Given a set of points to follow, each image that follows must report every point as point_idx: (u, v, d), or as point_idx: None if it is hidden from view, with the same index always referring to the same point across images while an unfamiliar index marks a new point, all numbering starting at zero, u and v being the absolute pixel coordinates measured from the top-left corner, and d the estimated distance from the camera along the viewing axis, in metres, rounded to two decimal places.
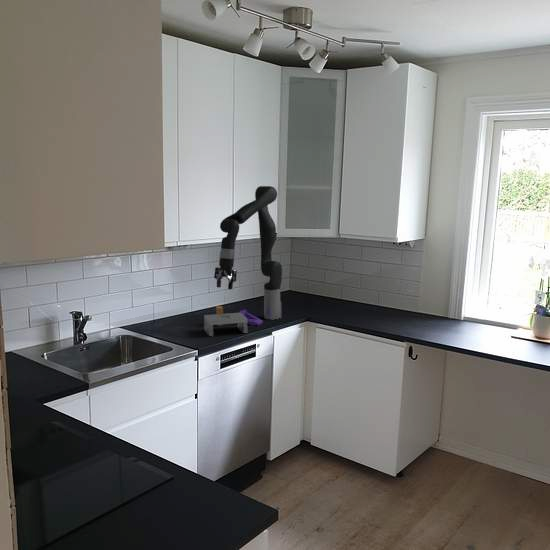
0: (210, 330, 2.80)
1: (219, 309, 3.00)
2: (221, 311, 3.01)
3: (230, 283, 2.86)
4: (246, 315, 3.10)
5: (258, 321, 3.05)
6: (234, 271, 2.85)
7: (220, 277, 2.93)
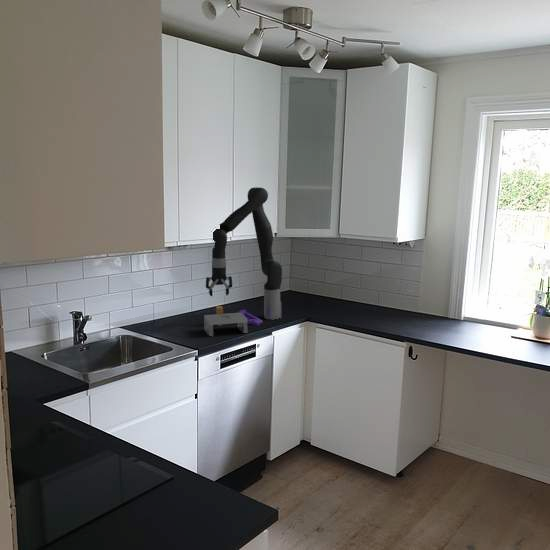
0: (210, 330, 2.80)
1: (219, 309, 3.00)
2: (221, 311, 3.01)
3: (228, 289, 3.02)
4: (246, 315, 3.10)
5: (258, 321, 3.06)
6: None
7: None
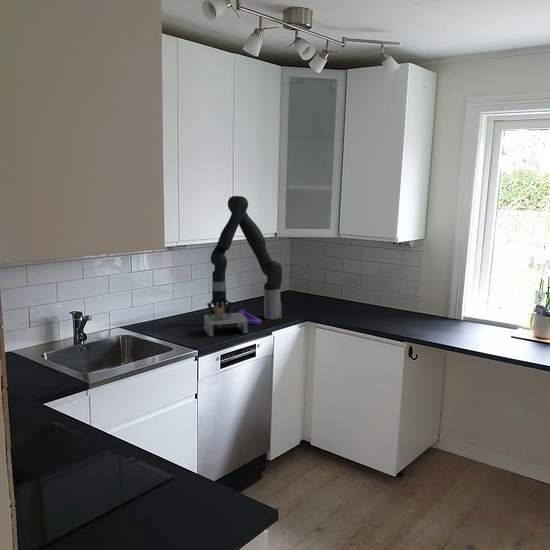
0: (210, 330, 2.80)
1: (219, 309, 3.00)
2: (221, 311, 3.01)
3: None
4: (245, 315, 3.10)
5: (257, 320, 3.06)
6: None
7: None
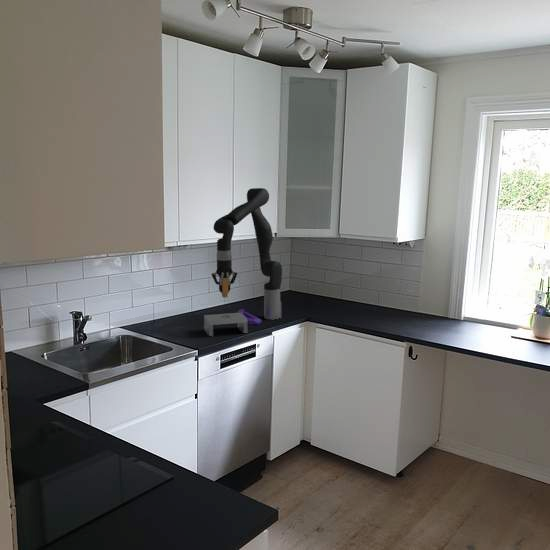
0: (210, 330, 2.80)
1: (224, 280, 2.84)
2: (226, 282, 2.84)
3: (229, 285, 2.86)
4: (244, 314, 3.11)
5: (257, 320, 3.07)
6: None
7: None
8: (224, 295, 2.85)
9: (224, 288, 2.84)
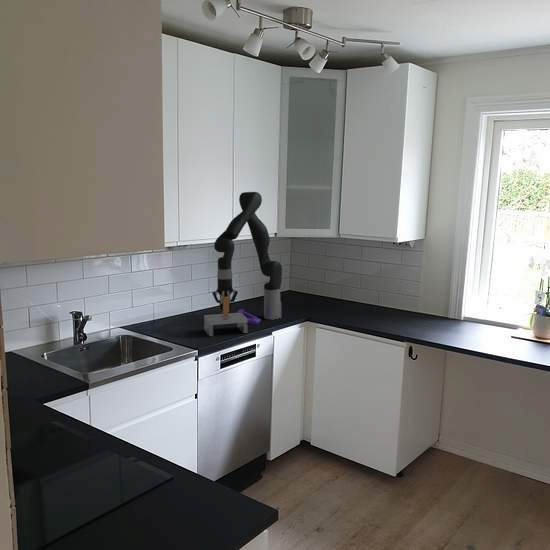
0: (210, 330, 2.80)
1: (225, 298, 2.85)
2: (227, 300, 2.85)
3: (230, 304, 2.88)
4: (244, 314, 3.12)
5: (257, 320, 3.08)
6: None
7: None
8: (225, 313, 2.87)
9: (224, 306, 2.86)
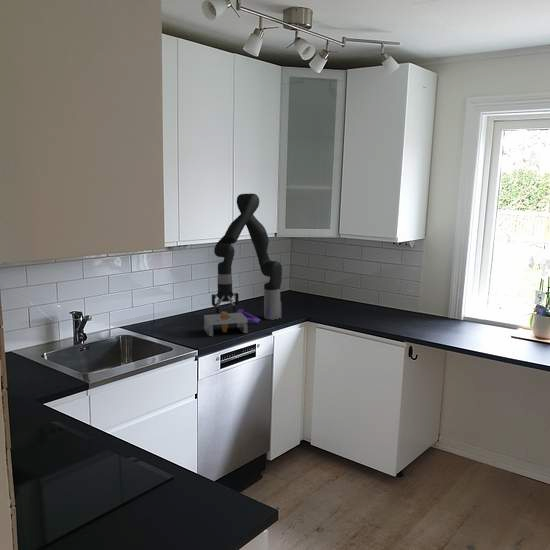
0: (210, 330, 2.80)
1: (224, 315, 2.87)
2: (226, 317, 2.87)
3: (234, 307, 2.89)
4: (243, 314, 3.12)
5: (256, 319, 3.08)
6: None
7: None
8: (223, 330, 2.89)
9: None
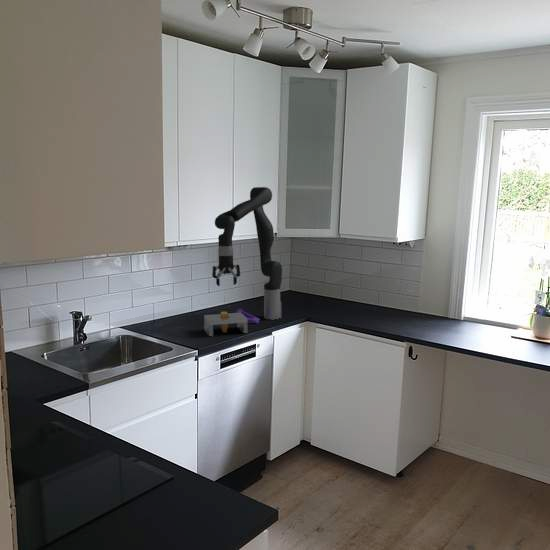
0: (210, 330, 2.80)
1: (224, 315, 2.87)
2: (226, 317, 2.87)
3: (236, 278, 2.89)
4: (243, 314, 3.13)
5: (256, 319, 3.09)
6: None
7: None
8: (223, 330, 2.89)
9: None
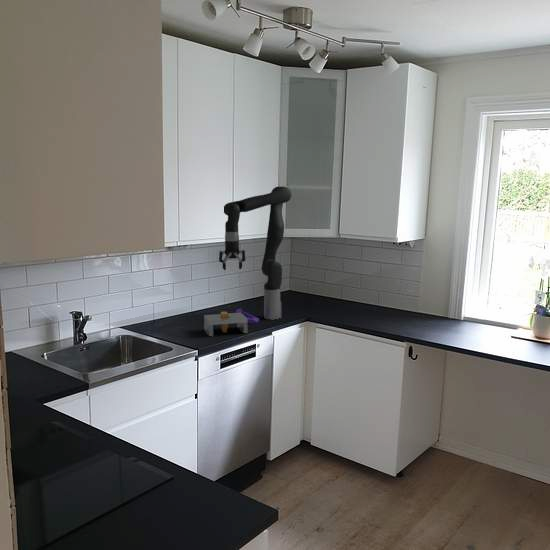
0: (210, 330, 2.80)
1: (224, 315, 2.87)
2: (226, 317, 2.87)
3: (241, 263, 3.04)
4: None
5: (255, 319, 3.10)
6: None
7: (224, 260, 3.02)
8: (223, 330, 2.89)
9: None
